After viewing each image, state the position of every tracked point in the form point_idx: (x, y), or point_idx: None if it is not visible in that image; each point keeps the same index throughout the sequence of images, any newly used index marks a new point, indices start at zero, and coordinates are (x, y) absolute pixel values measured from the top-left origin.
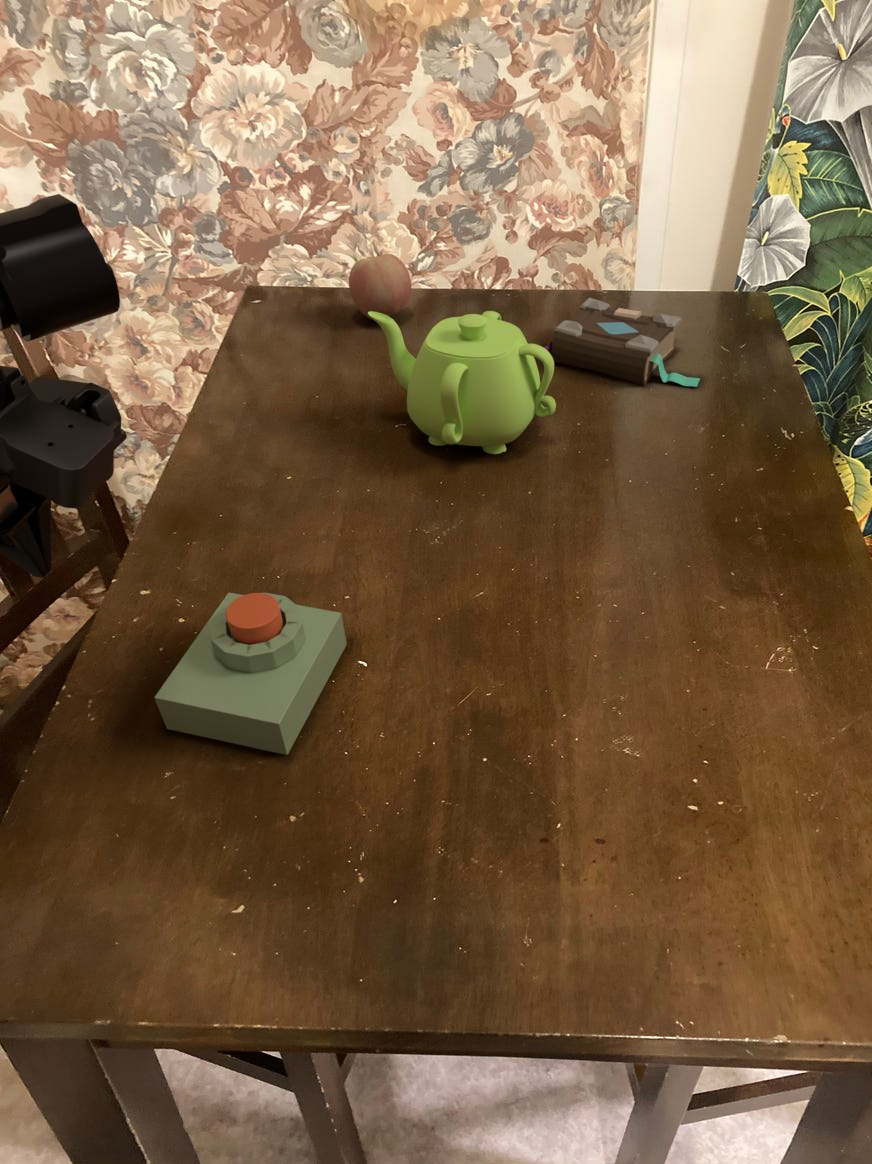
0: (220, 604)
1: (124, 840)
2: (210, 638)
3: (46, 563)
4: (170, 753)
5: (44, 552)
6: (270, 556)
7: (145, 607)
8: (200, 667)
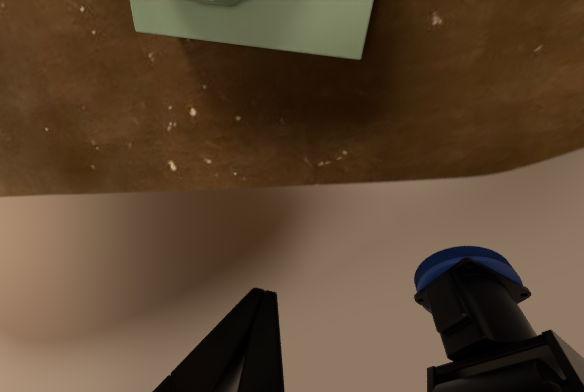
0: (161, 33)
1: (551, 34)
2: (229, 16)
3: (254, 310)
4: (398, 33)
5: (240, 336)
6: (60, 38)
7: (190, 158)
8: (291, 4)
